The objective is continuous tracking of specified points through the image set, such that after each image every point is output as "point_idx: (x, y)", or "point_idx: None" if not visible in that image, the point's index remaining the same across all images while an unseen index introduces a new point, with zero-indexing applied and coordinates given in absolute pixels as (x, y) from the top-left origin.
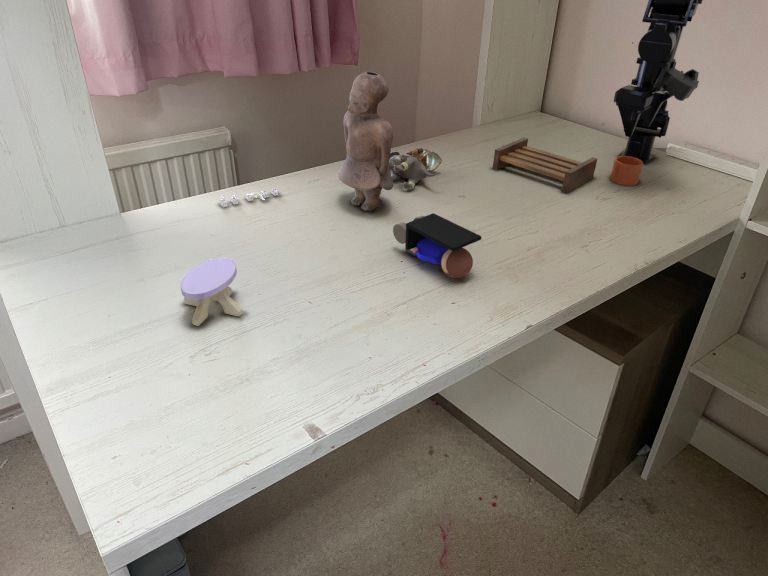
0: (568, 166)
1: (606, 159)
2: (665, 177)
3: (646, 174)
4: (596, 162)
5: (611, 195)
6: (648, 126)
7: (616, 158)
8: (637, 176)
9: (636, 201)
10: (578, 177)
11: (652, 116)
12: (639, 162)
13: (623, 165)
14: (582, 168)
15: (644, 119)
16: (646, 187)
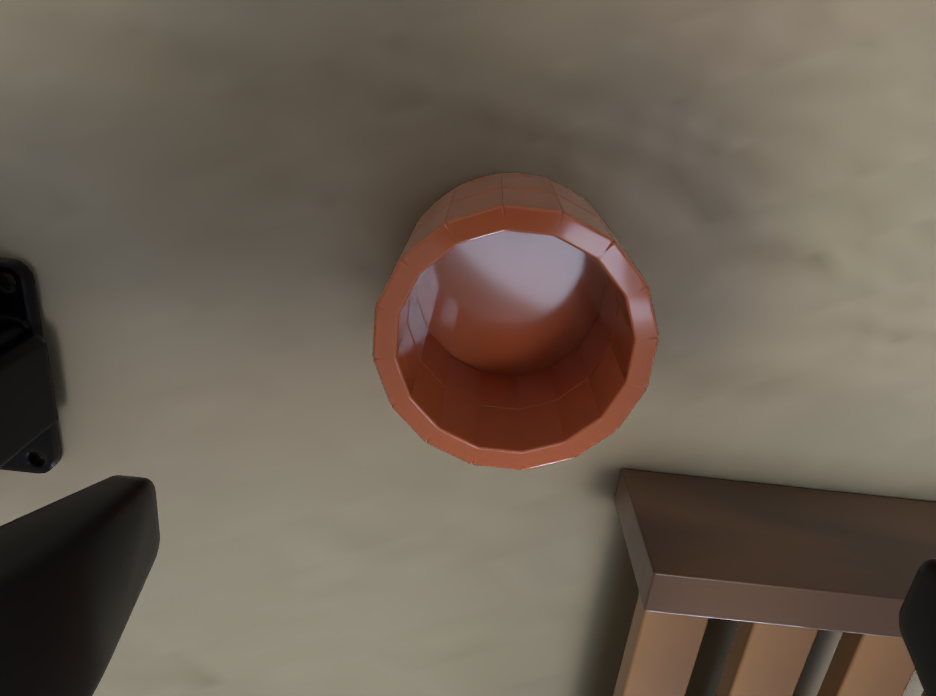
0: (801, 663)
1: (182, 507)
2: (170, 4)
3: (238, 174)
4: (650, 549)
5: (893, 261)
6: (150, 485)
7: (534, 455)
8: (555, 191)
9: (925, 48)
10: (925, 548)
11: (4, 616)
12: (441, 254)
13: (654, 352)
14: None
15: (96, 654)
16: (540, 78)
